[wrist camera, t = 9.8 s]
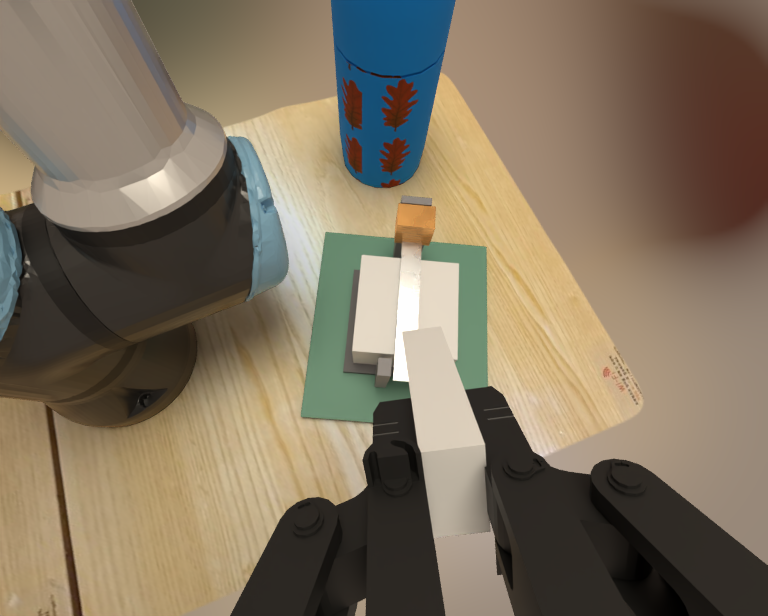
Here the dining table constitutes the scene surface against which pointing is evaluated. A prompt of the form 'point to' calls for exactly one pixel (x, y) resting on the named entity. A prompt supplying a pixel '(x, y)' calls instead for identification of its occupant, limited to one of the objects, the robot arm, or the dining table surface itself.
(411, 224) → the grey and orange bar
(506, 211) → the dining table surface
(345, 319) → the lever on green base
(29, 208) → the robot arm
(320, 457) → the dining table surface
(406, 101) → the thermos
